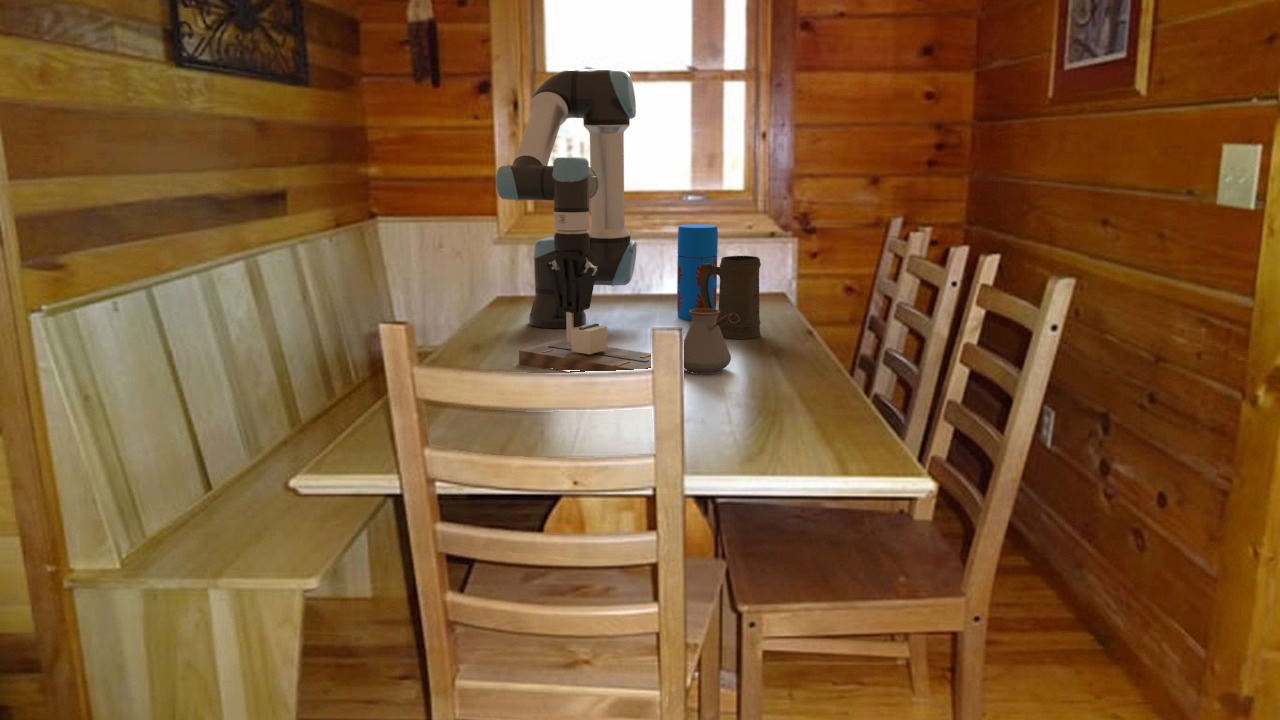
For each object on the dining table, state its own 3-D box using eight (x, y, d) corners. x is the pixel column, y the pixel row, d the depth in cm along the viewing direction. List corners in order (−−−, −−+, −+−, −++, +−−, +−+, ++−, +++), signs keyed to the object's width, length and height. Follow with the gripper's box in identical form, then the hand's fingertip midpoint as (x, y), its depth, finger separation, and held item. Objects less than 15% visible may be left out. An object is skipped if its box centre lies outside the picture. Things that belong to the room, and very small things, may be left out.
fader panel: (519, 363, 205) (518, 349, 204) (560, 352, 216) (559, 338, 215) (639, 384, 187) (639, 369, 186) (677, 371, 198) (677, 356, 197)
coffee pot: (669, 366, 203) (669, 297, 199) (718, 362, 206) (719, 295, 203) (705, 390, 183) (707, 314, 180) (759, 386, 186) (762, 311, 183)
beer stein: (762, 331, 240) (759, 253, 236) (764, 339, 230) (760, 258, 225) (702, 334, 242) (698, 256, 238) (701, 342, 231) (697, 261, 227)
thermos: (721, 315, 263) (723, 225, 257) (707, 321, 254) (709, 228, 248) (685, 312, 267) (686, 224, 262) (670, 318, 258) (671, 227, 252)
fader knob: (571, 351, 201) (571, 326, 200) (588, 346, 206) (588, 322, 204) (589, 354, 198) (589, 329, 197) (606, 349, 203) (606, 324, 202)
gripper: (536, 231, 199) (539, 340, 204) (584, 234, 192) (586, 347, 197) (559, 229, 205) (561, 334, 210) (607, 232, 198) (607, 341, 203)
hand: (573, 341), depth 204 cm, fingers closed
